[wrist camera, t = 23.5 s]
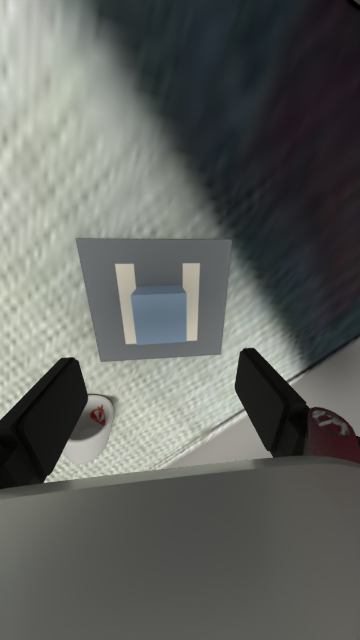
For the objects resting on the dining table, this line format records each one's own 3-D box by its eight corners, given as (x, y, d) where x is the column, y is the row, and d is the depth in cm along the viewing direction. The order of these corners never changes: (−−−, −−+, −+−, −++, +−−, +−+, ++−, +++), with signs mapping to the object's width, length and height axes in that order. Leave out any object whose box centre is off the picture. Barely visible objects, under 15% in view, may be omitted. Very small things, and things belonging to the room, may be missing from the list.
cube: (180, 284, 24) (186, 293, 18) (181, 323, 26) (186, 341, 20) (137, 286, 23) (130, 295, 18) (142, 325, 25) (136, 345, 20)
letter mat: (230, 239, 23) (232, 239, 22) (219, 352, 29) (220, 354, 29) (77, 238, 21) (75, 238, 20) (101, 360, 27) (100, 362, 27)
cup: (36, 445, 28) (28, 414, 24) (80, 408, 35) (78, 380, 31) (84, 485, 25) (82, 456, 21) (121, 435, 32) (124, 407, 28)
